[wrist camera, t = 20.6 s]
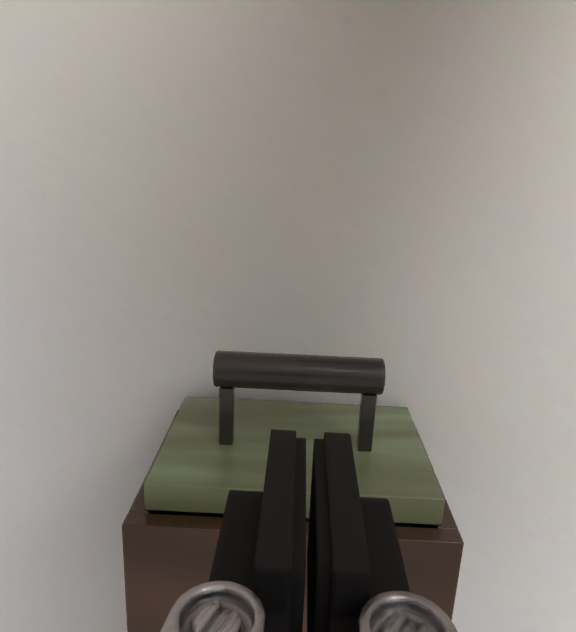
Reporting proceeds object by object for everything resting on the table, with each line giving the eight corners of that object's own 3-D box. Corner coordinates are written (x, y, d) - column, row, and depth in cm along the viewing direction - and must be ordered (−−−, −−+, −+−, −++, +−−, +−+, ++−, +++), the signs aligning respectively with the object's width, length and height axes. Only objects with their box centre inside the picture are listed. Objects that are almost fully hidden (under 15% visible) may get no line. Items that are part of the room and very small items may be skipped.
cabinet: (177, 408, 29) (121, 525, 20) (413, 420, 29) (464, 542, 20) (181, 612, 33) (135, 788, 24) (389, 624, 33) (422, 804, 24)
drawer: (184, 318, 27) (139, 382, 20) (416, 329, 27) (460, 397, 19) (187, 593, 32) (152, 729, 24) (385, 604, 32) (410, 743, 24)
